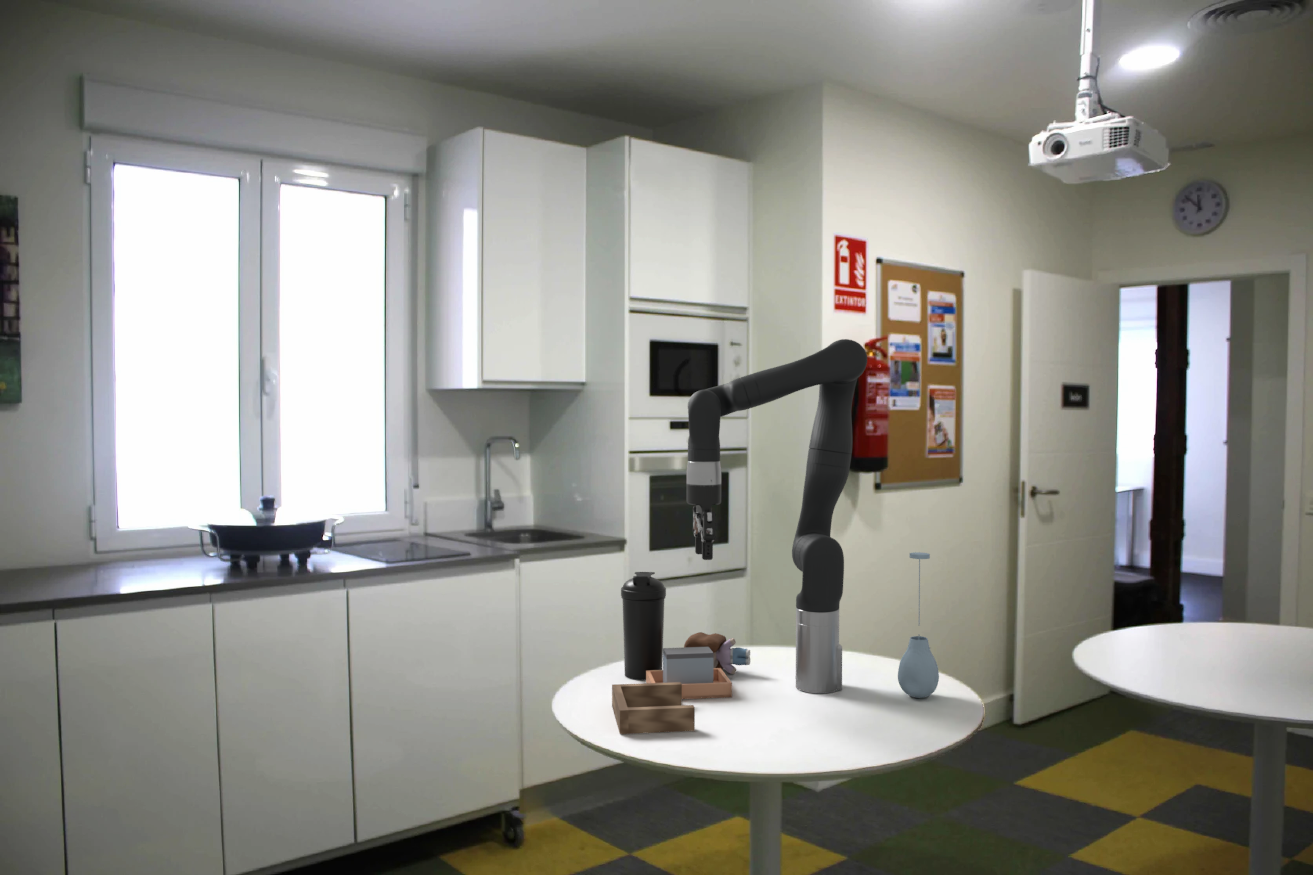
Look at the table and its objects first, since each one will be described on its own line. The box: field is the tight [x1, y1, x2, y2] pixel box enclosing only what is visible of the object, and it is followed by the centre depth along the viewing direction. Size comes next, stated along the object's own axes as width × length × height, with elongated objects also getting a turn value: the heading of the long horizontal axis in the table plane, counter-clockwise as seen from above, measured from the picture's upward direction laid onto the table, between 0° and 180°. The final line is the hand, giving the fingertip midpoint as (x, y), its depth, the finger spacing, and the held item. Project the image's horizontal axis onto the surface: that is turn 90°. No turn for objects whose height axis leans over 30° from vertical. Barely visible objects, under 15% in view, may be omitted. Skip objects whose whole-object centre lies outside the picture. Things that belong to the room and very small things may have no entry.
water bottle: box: [620, 571, 667, 681], centre depth 220 cm, size 10×10×23 cm
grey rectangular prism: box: [662, 646, 713, 684], centre depth 207 cm, size 10×6×8 cm, turn 98°
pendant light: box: [897, 551, 940, 699], centre depth 203 cm, size 8×8×30 cm
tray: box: [645, 668, 733, 700], centre depth 207 cm, size 17×12×3 cm
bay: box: [611, 682, 696, 735], centre depth 189 cm, size 14×17×4 cm
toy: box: [683, 631, 751, 675], centre depth 222 cm, size 9×8×15 cm
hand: (703, 556), depth 211 cm, fingers open, 8 cm apart
